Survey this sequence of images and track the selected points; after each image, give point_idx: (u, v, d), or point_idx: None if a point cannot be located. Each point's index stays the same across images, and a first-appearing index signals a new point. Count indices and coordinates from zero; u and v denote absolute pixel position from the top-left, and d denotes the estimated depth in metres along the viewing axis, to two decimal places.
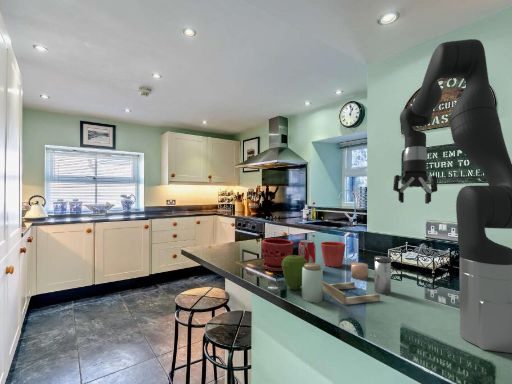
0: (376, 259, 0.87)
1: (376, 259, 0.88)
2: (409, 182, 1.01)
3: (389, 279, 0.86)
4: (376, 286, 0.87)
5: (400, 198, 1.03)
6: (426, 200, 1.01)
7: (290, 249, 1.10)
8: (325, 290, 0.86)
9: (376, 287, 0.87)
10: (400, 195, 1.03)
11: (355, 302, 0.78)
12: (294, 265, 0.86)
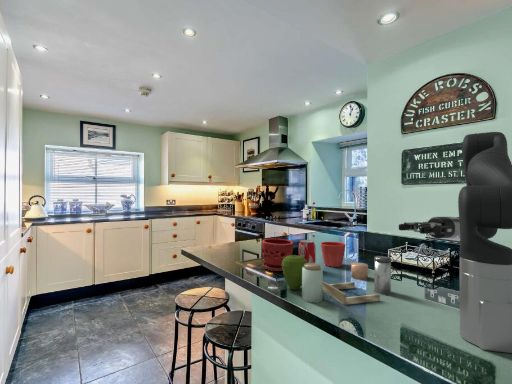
0: (376, 259, 0.87)
1: (376, 259, 0.88)
2: (421, 222, 0.96)
3: (389, 279, 0.86)
4: (376, 286, 0.87)
5: None
6: None
7: (290, 249, 1.10)
8: (325, 290, 0.86)
9: (376, 287, 0.87)
10: None
11: (355, 302, 0.78)
12: (294, 265, 0.86)
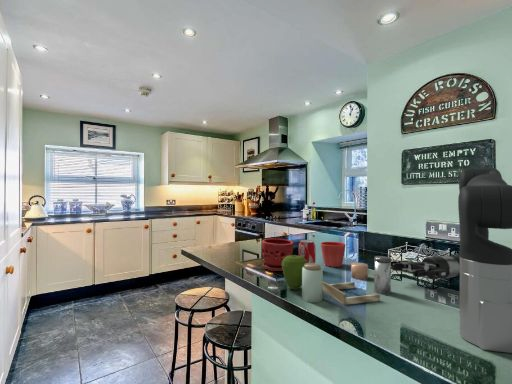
0: (376, 259, 0.87)
1: (376, 259, 0.88)
2: (415, 262, 0.95)
3: (389, 279, 0.86)
4: (376, 286, 0.87)
5: None
6: None
7: (290, 249, 1.10)
8: (325, 290, 0.86)
9: (376, 287, 0.87)
10: None
11: (355, 302, 0.78)
12: (294, 265, 0.86)
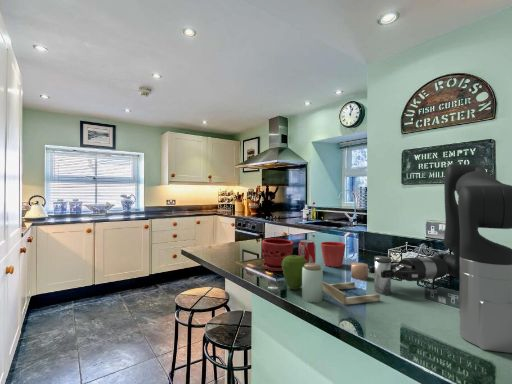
0: (376, 259, 0.87)
1: (376, 259, 0.88)
2: None
3: (389, 279, 0.86)
4: (376, 286, 0.87)
5: None
6: None
7: (290, 249, 1.10)
8: (325, 290, 0.86)
9: (376, 287, 0.87)
10: None
11: (355, 302, 0.78)
12: (294, 265, 0.86)
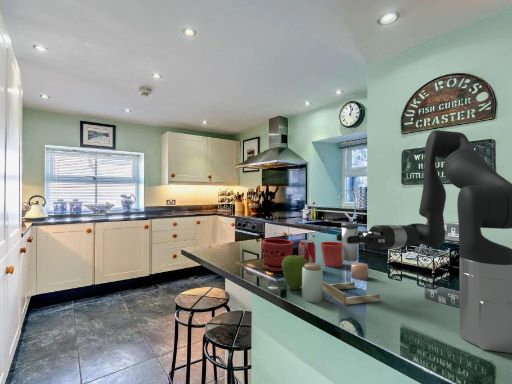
0: (342, 225, 0.84)
1: (342, 225, 0.84)
2: (360, 231, 0.88)
3: (356, 245, 0.83)
4: (343, 253, 0.84)
5: None
6: None
7: (290, 249, 1.10)
8: (325, 290, 0.86)
9: (343, 254, 0.84)
10: None
11: (355, 302, 0.78)
12: (294, 265, 0.86)
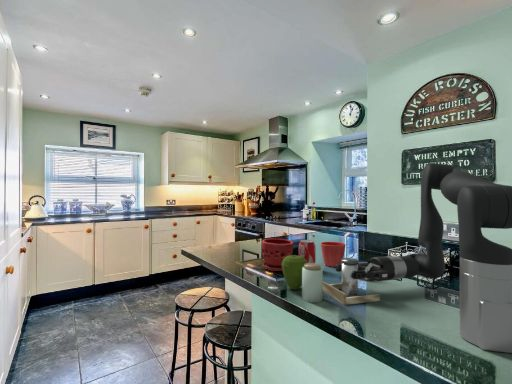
0: (342, 261, 0.84)
1: (342, 262, 0.84)
2: (360, 262, 0.88)
3: (356, 282, 0.83)
4: (343, 289, 0.84)
5: None
6: None
7: (290, 249, 1.10)
8: (325, 290, 0.86)
9: (343, 290, 0.84)
10: None
11: (355, 302, 0.78)
12: (294, 265, 0.86)
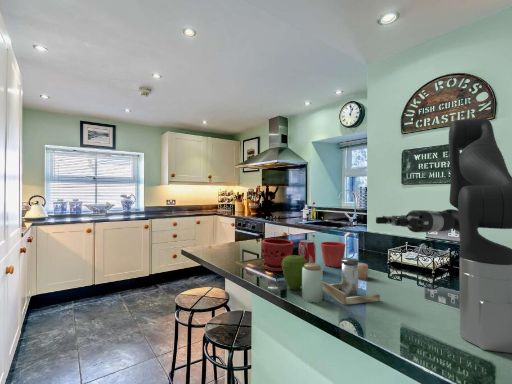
0: (343, 261, 0.84)
1: (342, 262, 0.84)
2: None
3: (356, 282, 0.82)
4: (343, 289, 0.84)
5: None
6: None
7: (290, 249, 1.10)
8: (325, 290, 0.86)
9: (343, 290, 0.84)
10: None
11: (355, 302, 0.78)
12: (294, 265, 0.86)
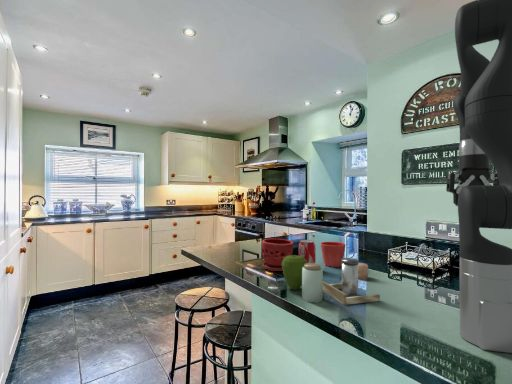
0: (343, 261, 0.84)
1: (342, 262, 0.84)
2: (468, 181, 0.84)
3: (356, 282, 0.82)
4: (343, 289, 0.84)
5: (456, 201, 0.86)
6: None
7: (290, 249, 1.10)
8: (325, 290, 0.86)
9: (343, 290, 0.84)
10: (456, 197, 0.86)
11: (355, 302, 0.78)
12: (294, 265, 0.86)
